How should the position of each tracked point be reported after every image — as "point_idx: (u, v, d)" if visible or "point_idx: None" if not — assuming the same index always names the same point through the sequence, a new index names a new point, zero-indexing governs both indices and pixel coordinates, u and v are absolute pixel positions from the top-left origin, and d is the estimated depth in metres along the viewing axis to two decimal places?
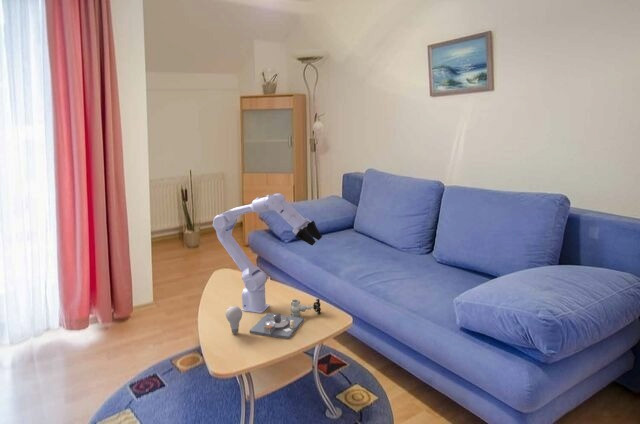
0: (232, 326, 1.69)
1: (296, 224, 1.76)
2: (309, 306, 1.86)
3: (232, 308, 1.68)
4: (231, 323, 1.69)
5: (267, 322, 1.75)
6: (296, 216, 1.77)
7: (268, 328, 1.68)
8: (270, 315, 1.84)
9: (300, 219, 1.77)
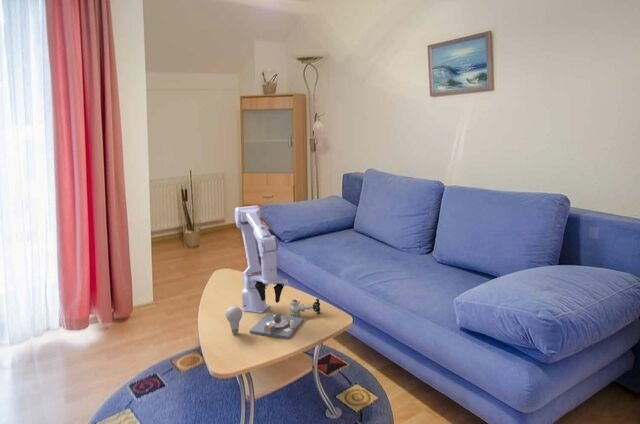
0: (232, 326, 1.69)
1: None
2: (309, 306, 1.86)
3: (232, 308, 1.68)
4: (231, 323, 1.69)
5: (267, 322, 1.75)
6: (262, 272, 1.72)
7: (268, 328, 1.68)
8: (270, 315, 1.84)
9: (263, 277, 1.73)
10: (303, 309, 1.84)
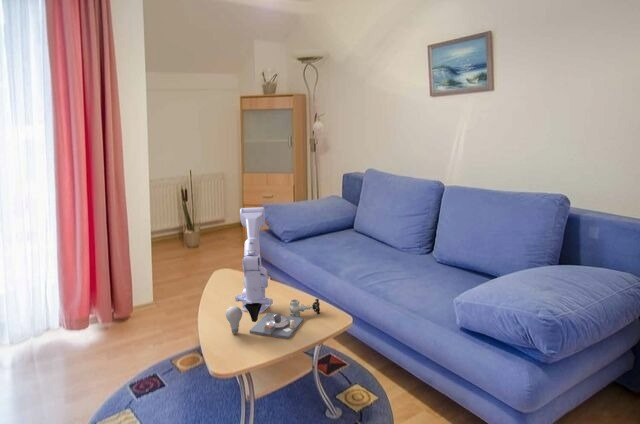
0: (232, 326, 1.69)
1: None
2: (308, 306, 1.86)
3: (232, 308, 1.68)
4: (231, 323, 1.69)
5: (267, 322, 1.75)
6: (246, 291, 1.67)
7: (268, 328, 1.68)
8: (270, 315, 1.84)
9: (246, 296, 1.67)
10: (303, 309, 1.84)
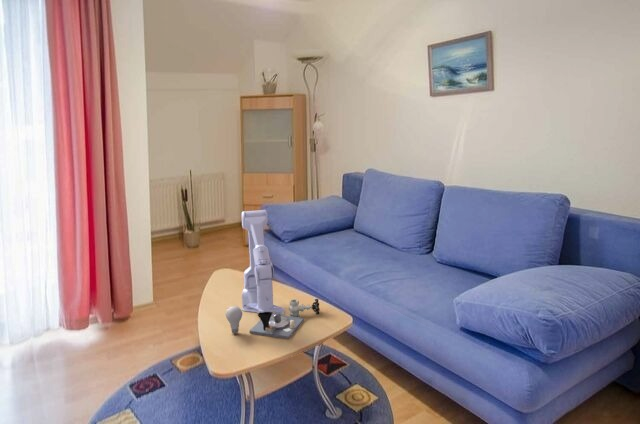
0: (232, 326, 1.69)
1: None
2: (308, 306, 1.86)
3: (232, 308, 1.68)
4: (231, 323, 1.69)
5: None
6: (258, 300, 1.66)
7: (269, 328, 1.68)
8: None
9: (258, 305, 1.66)
10: (302, 309, 1.84)
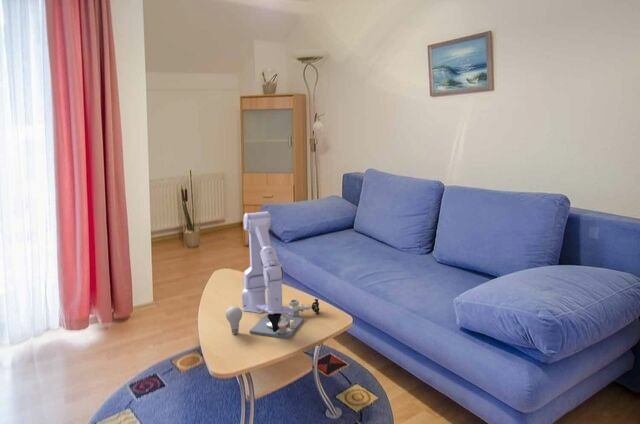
0: (232, 326, 1.69)
1: None
2: (307, 306, 1.85)
3: (232, 308, 1.68)
4: (231, 323, 1.69)
5: (270, 324, 1.73)
6: (267, 302, 1.65)
7: (283, 327, 1.68)
8: None
9: (268, 307, 1.65)
10: (302, 309, 1.84)
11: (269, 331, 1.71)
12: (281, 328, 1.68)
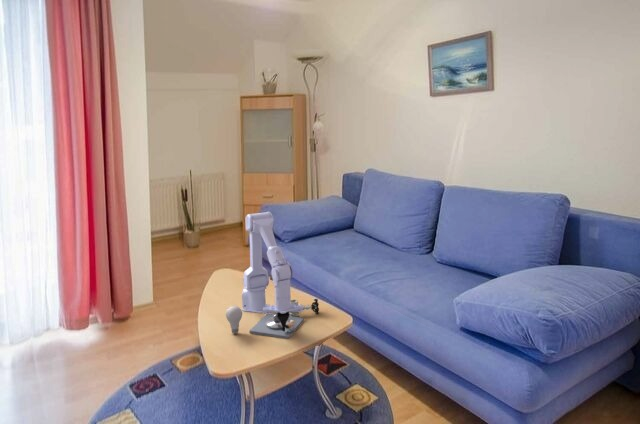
0: (232, 326, 1.69)
1: (275, 305, 1.67)
2: (307, 306, 1.85)
3: (232, 308, 1.68)
4: (231, 323, 1.69)
5: (274, 325, 1.73)
6: (278, 302, 1.65)
7: (292, 325, 1.70)
8: (270, 315, 1.84)
9: (279, 307, 1.65)
10: None
11: (269, 331, 1.71)
12: (290, 326, 1.69)
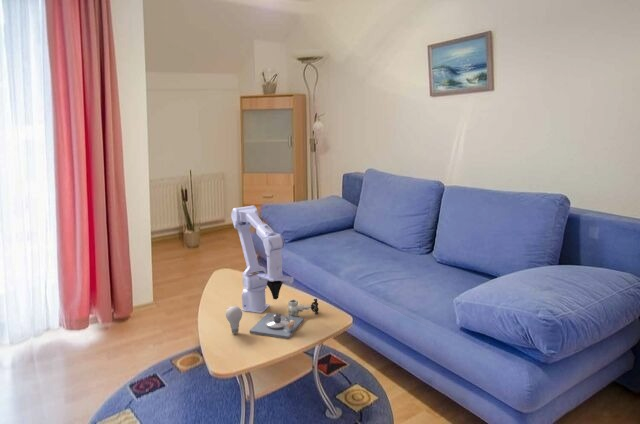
0: (232, 326, 1.69)
1: None
2: (307, 306, 1.85)
3: (232, 308, 1.68)
4: (231, 323, 1.69)
5: (274, 325, 1.73)
6: (268, 270, 1.74)
7: (292, 325, 1.70)
8: (270, 315, 1.84)
9: (268, 275, 1.74)
10: (301, 309, 1.84)
11: (269, 331, 1.71)
12: (290, 326, 1.69)
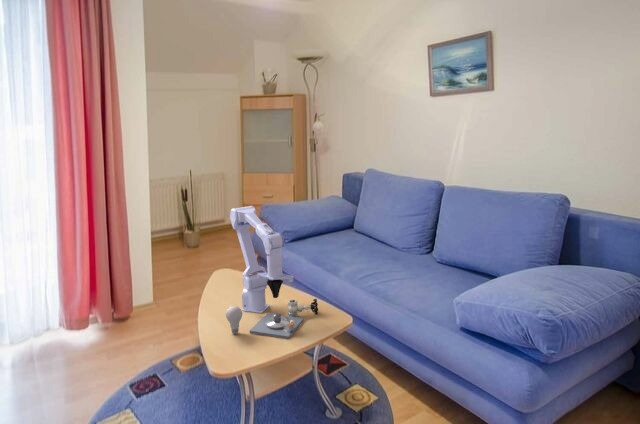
0: (232, 326, 1.69)
1: None
2: (306, 306, 1.85)
3: (232, 308, 1.68)
4: (231, 323, 1.69)
5: (274, 325, 1.73)
6: (268, 269, 1.75)
7: (292, 325, 1.70)
8: (270, 315, 1.84)
9: (268, 273, 1.75)
10: (301, 309, 1.84)
11: (269, 331, 1.71)
12: (290, 326, 1.69)
